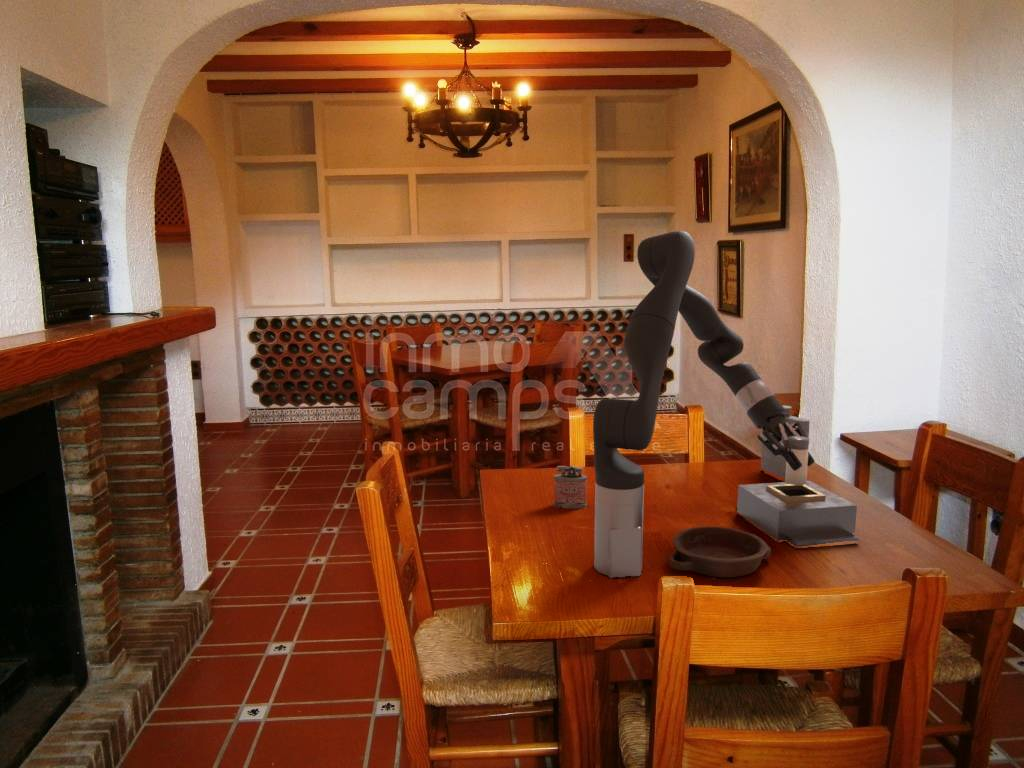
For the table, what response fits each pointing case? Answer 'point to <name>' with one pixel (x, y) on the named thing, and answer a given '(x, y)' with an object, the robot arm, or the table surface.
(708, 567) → the dish
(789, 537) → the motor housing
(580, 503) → the lighter
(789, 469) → the salt shaker
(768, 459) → the hip flask
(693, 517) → the table surface
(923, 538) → the table surface
